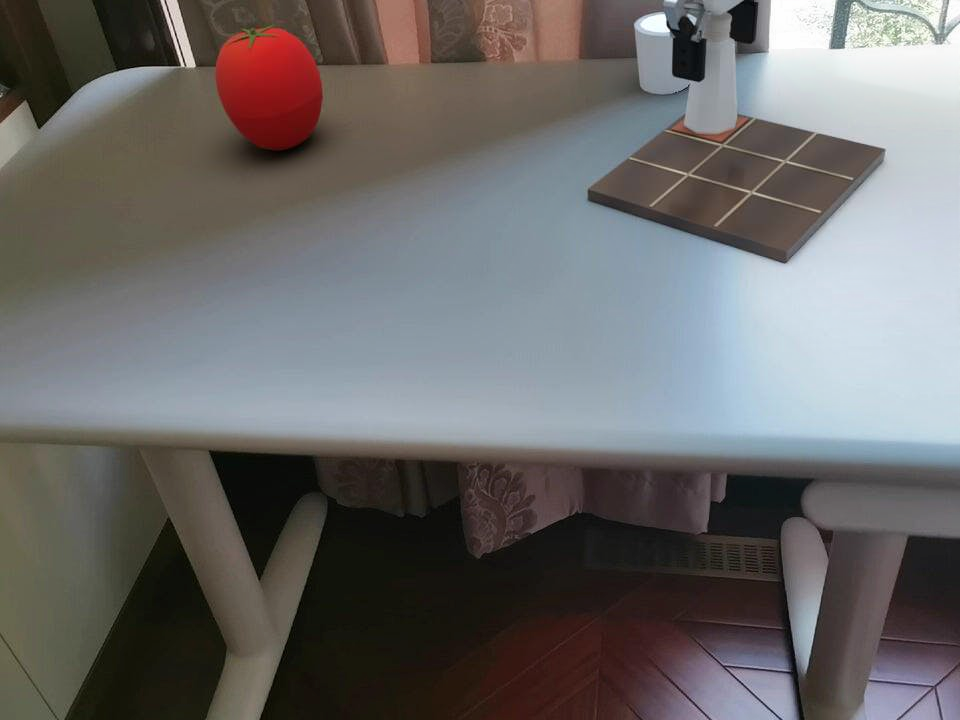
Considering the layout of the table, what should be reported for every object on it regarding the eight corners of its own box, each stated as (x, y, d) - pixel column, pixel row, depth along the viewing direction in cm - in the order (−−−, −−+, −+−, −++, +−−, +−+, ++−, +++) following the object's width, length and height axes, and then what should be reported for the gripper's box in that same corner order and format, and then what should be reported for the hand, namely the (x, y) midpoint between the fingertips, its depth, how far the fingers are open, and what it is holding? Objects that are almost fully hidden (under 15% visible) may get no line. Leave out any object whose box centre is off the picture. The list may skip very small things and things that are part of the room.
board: (883, 160, 91) (886, 146, 90) (785, 263, 80) (787, 249, 79) (696, 114, 101) (697, 102, 100) (587, 200, 91) (587, 187, 90)
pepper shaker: (720, 140, 94) (727, 30, 87) (672, 128, 97) (676, 20, 90) (748, 118, 97) (757, 9, 90) (700, 106, 100) (706, 1, 93)
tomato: (346, 148, 104) (322, 33, 95) (250, 178, 101) (216, 61, 92) (315, 111, 112) (289, 1, 104) (225, 137, 109) (191, 26, 101)
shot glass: (630, 96, 106) (630, 35, 102) (637, 70, 111) (637, 10, 107) (693, 97, 105) (696, 34, 100) (698, 70, 110) (700, 9, 105)
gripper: (712, -103, 75) (702, 102, 86) (812, -158, 84) (792, 33, 95) (631, -111, 79) (631, 86, 90) (735, -163, 88) (724, 21, 99)
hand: (714, 59), depth 92 cm, fingers open, 9 cm apart
